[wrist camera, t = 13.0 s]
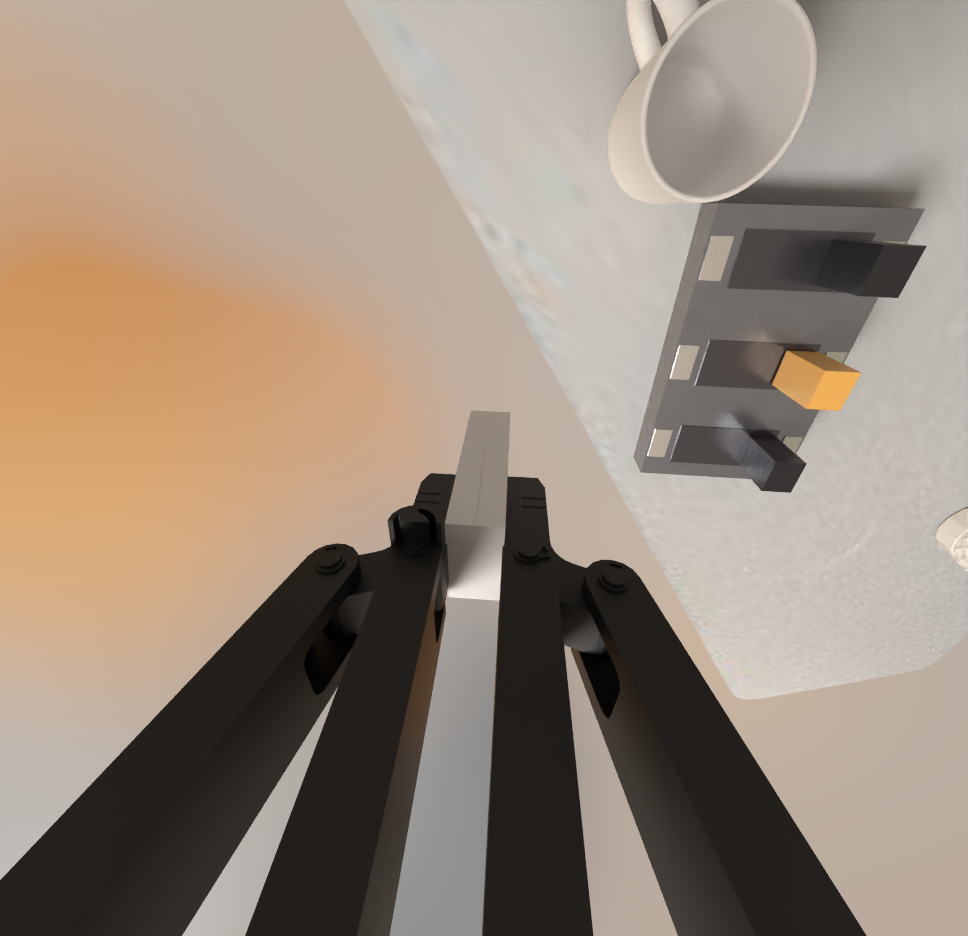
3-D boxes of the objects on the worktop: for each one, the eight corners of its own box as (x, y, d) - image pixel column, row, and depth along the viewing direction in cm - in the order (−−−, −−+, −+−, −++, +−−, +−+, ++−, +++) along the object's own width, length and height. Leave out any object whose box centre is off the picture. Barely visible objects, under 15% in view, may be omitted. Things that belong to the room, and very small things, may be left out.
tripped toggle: (786, 350, 33) (825, 370, 29) (818, 351, 33) (861, 372, 29) (771, 384, 35) (806, 408, 31) (801, 386, 35) (840, 410, 31)
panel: (702, 203, 31) (752, 202, 24) (891, 208, 30) (996, 208, 24) (633, 457, 43) (654, 502, 37) (766, 464, 43) (812, 512, 36)
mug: (561, 56, 27) (581, -15, 19) (684, -53, 24) (776, -197, 16) (631, 228, 32) (673, 235, 24) (740, 155, 29) (833, 133, 21)
